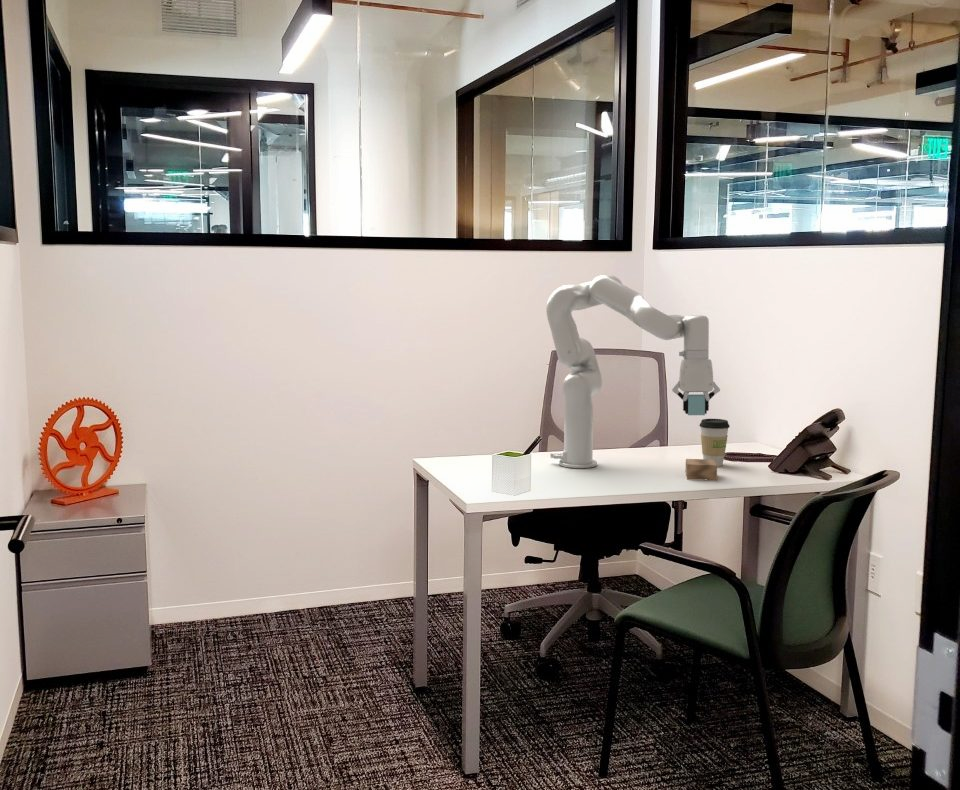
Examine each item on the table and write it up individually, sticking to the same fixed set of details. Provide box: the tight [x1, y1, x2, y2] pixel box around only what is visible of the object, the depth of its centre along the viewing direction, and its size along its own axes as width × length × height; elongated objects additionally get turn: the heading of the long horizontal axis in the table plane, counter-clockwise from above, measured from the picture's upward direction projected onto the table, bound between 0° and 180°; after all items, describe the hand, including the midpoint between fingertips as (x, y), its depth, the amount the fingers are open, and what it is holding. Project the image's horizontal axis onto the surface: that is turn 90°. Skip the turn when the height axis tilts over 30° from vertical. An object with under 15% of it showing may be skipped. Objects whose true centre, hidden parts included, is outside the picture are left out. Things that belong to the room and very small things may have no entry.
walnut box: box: [685, 458, 718, 481], centre depth 291 cm, size 9×9×5 cm
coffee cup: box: [698, 418, 730, 468], centre depth 309 cm, size 10×10×15 cm
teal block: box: [687, 393, 706, 416], centre depth 290 cm, size 5×5×6 cm
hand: (695, 412), depth 290 cm, fingers closed on teal block, 5 cm apart
